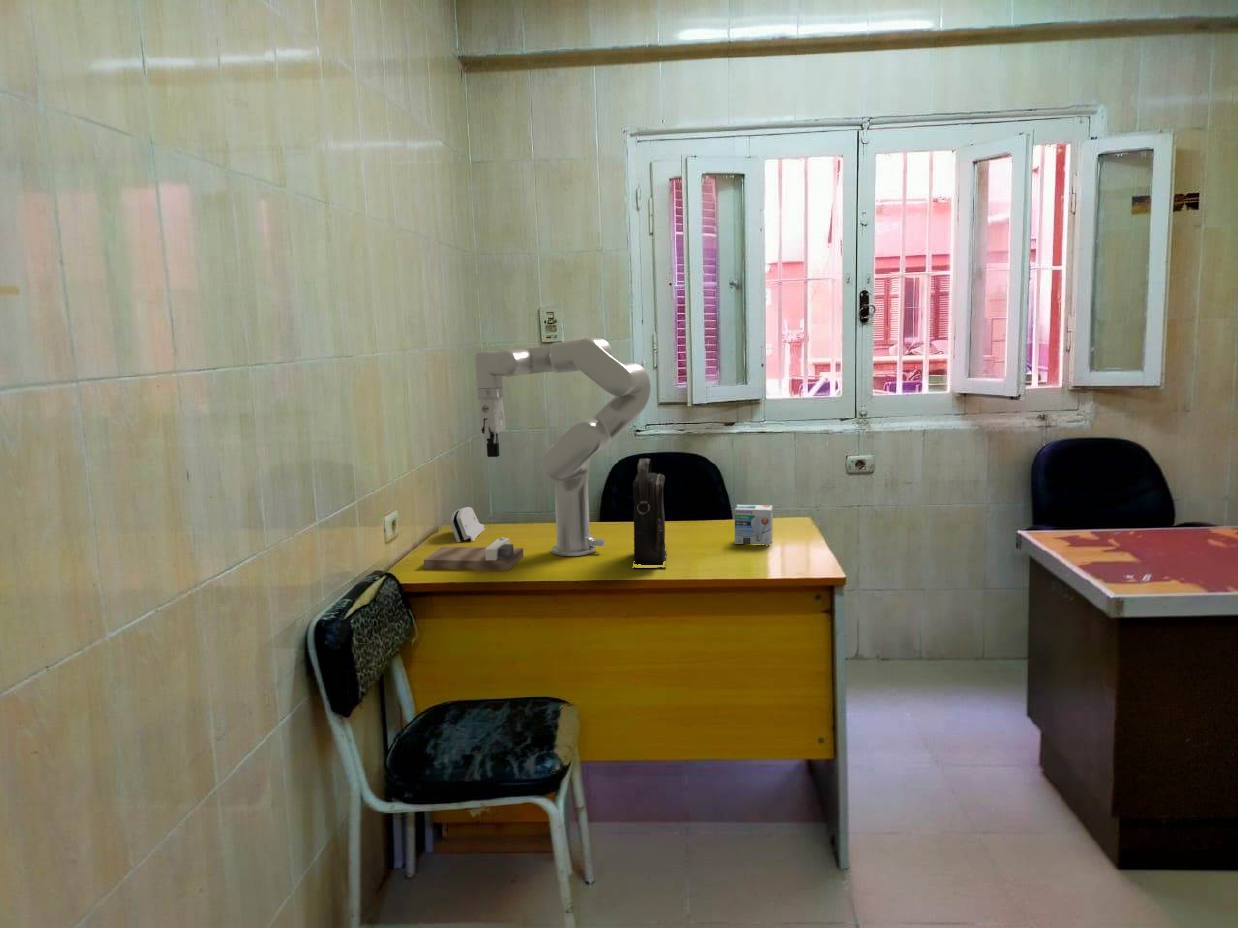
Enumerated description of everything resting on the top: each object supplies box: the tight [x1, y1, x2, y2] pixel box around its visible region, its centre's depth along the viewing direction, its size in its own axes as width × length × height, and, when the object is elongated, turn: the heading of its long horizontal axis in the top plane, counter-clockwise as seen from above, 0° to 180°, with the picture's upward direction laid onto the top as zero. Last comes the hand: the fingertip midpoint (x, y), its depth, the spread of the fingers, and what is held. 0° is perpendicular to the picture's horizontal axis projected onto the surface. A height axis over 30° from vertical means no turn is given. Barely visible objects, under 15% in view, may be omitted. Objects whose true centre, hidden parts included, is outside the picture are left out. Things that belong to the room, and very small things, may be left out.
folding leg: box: [485, 536, 510, 560], centre depth 240 cm, size 12×3×3 cm, turn 171°
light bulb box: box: [734, 504, 774, 545], centre depth 255 cm, size 11×7×11 cm, turn 76°
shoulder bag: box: [632, 457, 668, 565], centre depth 240 cm, size 23×9×28 cm, turn 176°
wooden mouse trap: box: [423, 543, 524, 571], centre depth 242 cm, size 24×14×6 cm, turn 80°
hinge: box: [449, 506, 486, 543], centre depth 275 cm, size 17×5×10 cm, turn 175°
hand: (493, 456), depth 256 cm, fingers closed
